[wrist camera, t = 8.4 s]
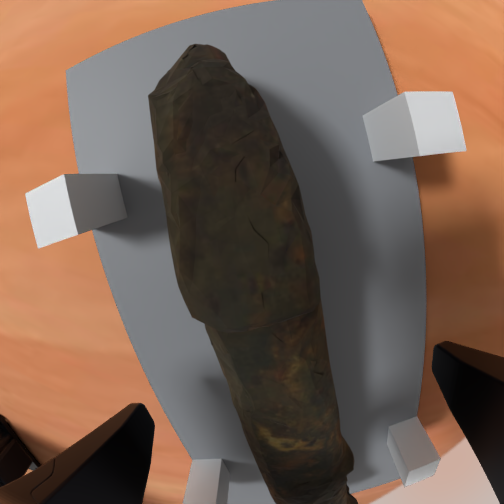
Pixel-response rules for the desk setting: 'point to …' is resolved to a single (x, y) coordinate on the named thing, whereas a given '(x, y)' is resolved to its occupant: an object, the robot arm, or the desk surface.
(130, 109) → the plate
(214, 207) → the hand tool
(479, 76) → the desk surface
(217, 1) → the desk surface
